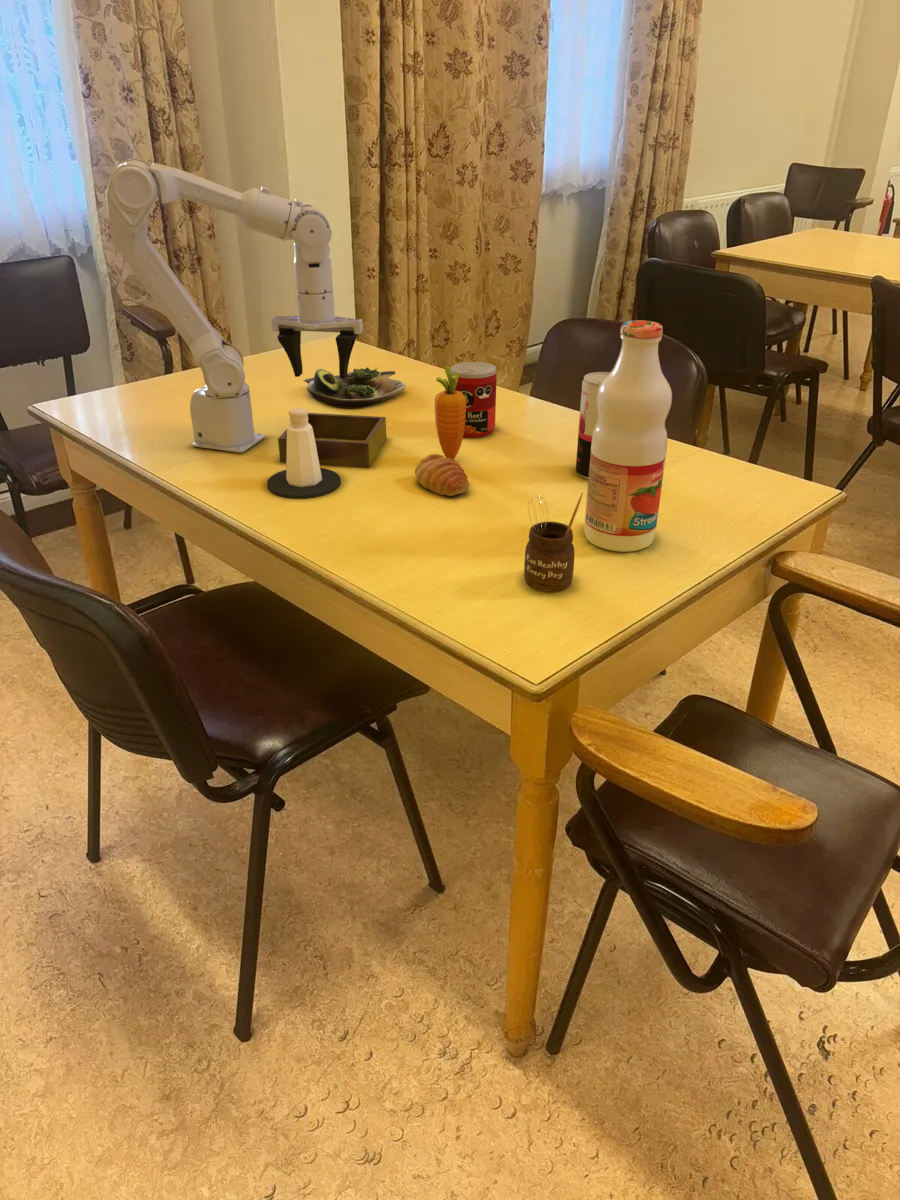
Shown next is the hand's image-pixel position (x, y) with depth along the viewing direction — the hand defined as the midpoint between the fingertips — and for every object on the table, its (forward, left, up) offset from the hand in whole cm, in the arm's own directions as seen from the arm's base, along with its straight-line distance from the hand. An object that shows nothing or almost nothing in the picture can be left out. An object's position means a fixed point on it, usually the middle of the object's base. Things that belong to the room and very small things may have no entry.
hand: (321, 376), depth 147 cm
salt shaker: (+6, -20, -10) cm, 23 cm away
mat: (+6, -20, -10) cm, 23 cm away
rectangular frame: (+4, -6, -10) cm, 13 cm away
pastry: (+26, -13, -11) cm, 31 cm away
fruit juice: (+54, -22, -11) cm, 59 cm away
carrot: (+24, -4, -11) cm, 26 cm away
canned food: (+23, +11, -11) cm, 27 cm away
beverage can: (+47, -1, -11) cm, 48 cm away
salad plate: (-5, +23, -11) cm, 26 cm away
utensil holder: (+48, -37, -11) cm, 61 cm away
